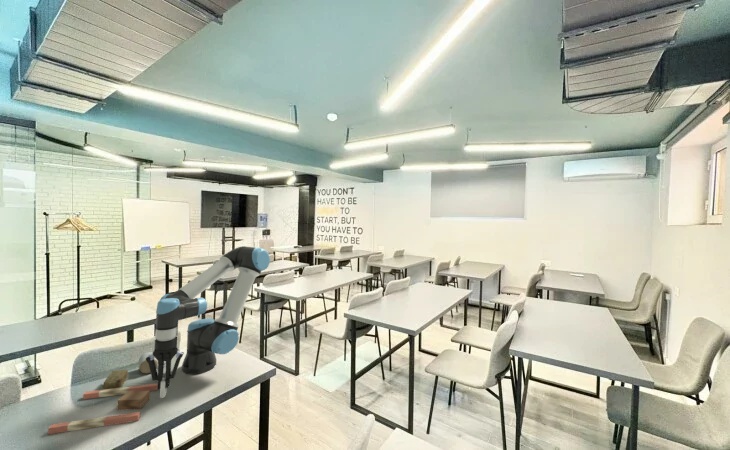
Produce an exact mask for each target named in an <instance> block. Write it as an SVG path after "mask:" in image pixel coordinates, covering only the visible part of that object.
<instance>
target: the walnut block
mask: <svg viewBox="0 0 730 450" xmlns="http://www.w3.org/2000/svg"><path fill="white" fill-rule="evenodd" d="M150 393H151V391H128V392H127V393H126V394H122V396H121V397H120V398H119V399H117V407H116V410H117V411H127V410H128V411H129V410H130V411H131V410H133V411H134V410H141V409H142V408H143V407H144V406H145V405H146V404H147V403H148V402H149V401H150V395H151V394H150Z"/></svg>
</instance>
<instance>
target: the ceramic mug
mask: <svg viewBox="0 0 730 450" xmlns="http://www.w3.org/2000/svg"><path fill="white" fill-rule="evenodd" d="M153 352H154V351H147V352H144V353H142V355H140V357H139V358H138V369H139V371H140V372H141V373H142V374H151V372H150V368H149V363H148V362H147V361H146V358H147V357H148V355H151V354H153ZM154 361H155V365H156V370H158V360H157V359H156V358H155V357H154ZM164 368H166V362H164Z"/></svg>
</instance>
